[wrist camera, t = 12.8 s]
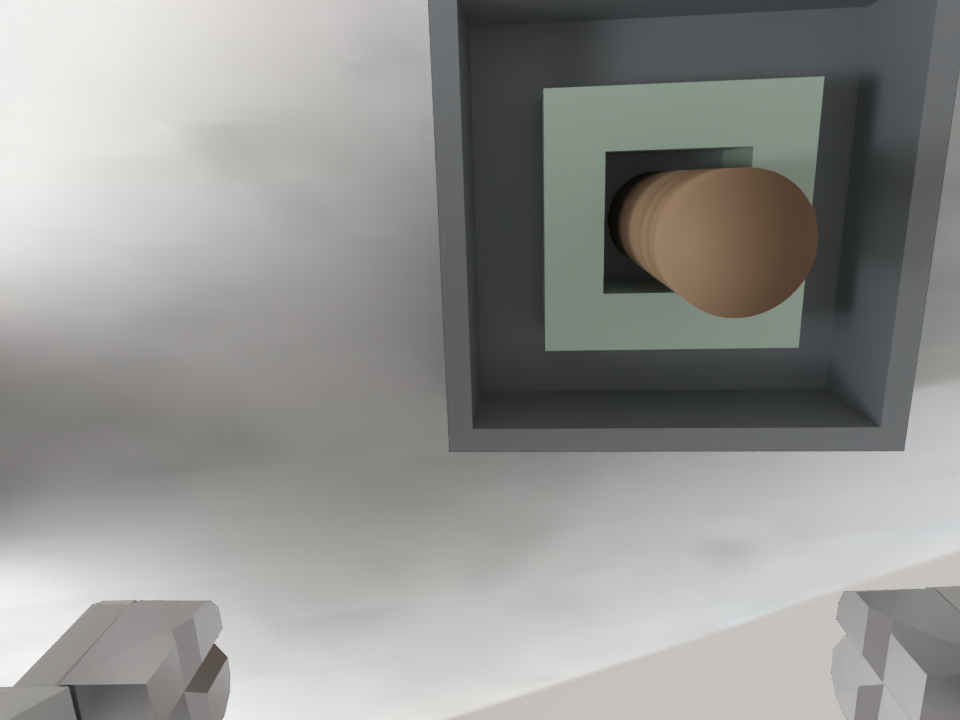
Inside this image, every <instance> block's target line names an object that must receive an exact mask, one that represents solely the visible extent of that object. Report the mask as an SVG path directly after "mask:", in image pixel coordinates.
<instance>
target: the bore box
mask: <svg viewBox="0 0 960 720" xmlns="http://www.w3.org/2000/svg"><path fill="white" fill-rule="evenodd" d="M428 9H429V31H430V52H431V73H432V94H433V115H434V137H435V158H436V179H437V200H438V221H439V243H440V264H441V285H442V306H443V327H444V349H445V370H446V391H447V412H448V433H449V452H645V451H904V448H905V441H906V434H907V427H908V420H909V413H910V406H911V399H912V392H913V385H914V378H915V372H916V365H917V358H918V351H919V344H920V337H921V330H922V323H923V316H924V309H925V302H926V296H927V289H928V282H929V275H930V268H931V261H932V254H933V247H934V240H935V233H936V226H937V220H938V213H939V206H940V199H941V192H942V185H943V178H944V171H945V164H946V157H947V150H948V144H949V137H950V130H951V123H952V116H953V109H954V102H955V95H956V88H957V81H958V75H959V68H960V0H428ZM741 167H754V168H762V169H767V170H770V171H773V172H776V173H778V174H780V175H782V176H785V177H786V178H788V179H789V180H791V181H792V182H793V183H794V184H796V185H797V186H798V187H799V188H800V189H801V190H802V192H803V193H804V194H805V195H806V197H807V198H808V200H809V202H810V204H811V205H812V208H813V211H814V213H815V216H816V221H817V226H818V245H817V251H816V255H815V259H814V262H813V264H812V267H811V269H810V271H809V273H808V275H807V276H806V278H805V280H804V281H803V283H802V284H801V285H800V286H799V288H798V289H797V290H796V291H795V292H794V293H793V294H792V295H791V296H790V297H789V298H788V299H786V300H785V301H784V302H783V303H781V304H779V305H778V306H776V307H775V308H773V309H771V310H769V311H766V312H764V313H761V314H758V315H755V316H751V317H746V318H724V317H718V316H714V315H711V314H708V313H706V312H704V311H701V310H699V309H698V308H696V307H695V306H693V305H692V304H690V303H689V302H688V301H686V300H685V299H683V298H682V297H681V296H679V295H678V294H677V293H675V292H674V291H673V290H671V289H670V288H668V287H667V286H666V285H664V284H663V283H662V282H660V281H659V280H658V279H656V278H655V277H653V276H652V275H651V274H649V273H648V272H647V271H645V270H644V269H643V268H641V267H640V266H639V265H637V264H636V263H634V262H633V261H632V260H630V259H629V258H628V257H626V256H625V255H624V254H623V253H621V252H620V251H619V249H618V248H617V247H616V246H615V244H614V243H613V241H612V238H611V236H610V233H609V228H608V213H609V208H610V205H611V202H612V200H613V198H614V196H615V195H616V193H617V192H618V190H619V189H620V188H621V187H622V186H623V185H624V184H625V183H626V182H627V181H629V180H630V179H632V178H634V177H635V176H637V175H640V174H643V173H647V172H653V171H673V170H696V169H718V168H741Z"/></svg>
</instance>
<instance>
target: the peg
mask: <svg viewBox="0 0 960 720" xmlns="http://www.w3.org/2000/svg"><path fill="white" fill-rule="evenodd" d="M608 228H609V233H610V236H611V238H612V241H613V243H614V244H615V246H616V247H617V248H618V249H619V251H620V252H621V253H623V254H624V255H625V256H626V257H628V258H629V259H630V260H632V261H633V262H634V263H636V264H637V265H639V266H640V267H641V268H643V269H644V270H645V271H647V272H648V273H649V274H651V275H652V276H653V277H655V278H656V279H658V280H659V281H660V282H662V283H663V284H664V285H666V286H667V287H668V288H670V289H671V290H673V291H674V292H675V293H677V294H678V295H679V296H681V297H682V298H683V299H685V300H686V301H688V302H689V303H690V304H692V305H693V306H695V307H696V308H698V309H699V310H701V311H704V312H706V313H708V314H711V315H714V316H718V317H724V318H746V317H751V316H755V315H758V314H761V313H764V312H766V311H769V310H771V309H773V308H775V307H776V306H778V305H779V304H781V303H783V302H784V301H785V300H786V299H788V298H789V297H790V296H791V295H792V294H793V293H794V292H795V291H796V290H797V289H798V288H799V286H800V285H801V284H802V283H803V281H804V280H805V278H806V276H807V275H808V273H809V271H810V269H811V267H812V264H813V262H814V259H815V255H816V251H817V245H818V226H817V221H816V216H815V213H814V211H813V208H812V205H811V204H810V202H809V200H808V198H807V197H806V195H805V194H804V193H803V192H802V190H801V189H800V188H799V187H798V186H797V185H796V184H794V183H793V182H792V181H791V180H789V179H788V178H786V177H785V176H782V175H780V174H778V173H776V172H773V171H770V170H767V169H762V168H754V167H741V168H718V169H696V170H673V171H653V172H647V173H643V174H640V175H637V176H635V177H634V178H632V179H630V180H629V181H627V182H626V183H625V184H624V185H623V186H622V187H621V188H620V189H619V190H618V192H617V193H616V195H615V196H614V198H613V200H612V202H611V205H610V208H609V213H608Z"/></svg>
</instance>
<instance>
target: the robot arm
mask: <svg viewBox="0 0 960 720" xmlns="http://www.w3.org/2000/svg"><path fill="white" fill-rule="evenodd" d="M836 620H837V621H838V622H839V624H840V625H841V627H842V628H843V629H844V631H845V632H846V633H847V635H846V636H845V637H844V638H843V639H842V640H841V641H840V642H839V643H838V645H836V647H835V648H834V649H833V655H832V669H831V674H832V680H833V685H834V691H835V696H836V699H837V701H838V703H839V706H840V708H841V711H842V713H843V715H844V717H845V718H846V720H960V586H951V587H931V588H925V589H902V590H901V589H899V590H867V591H844V592H843V594H842V596H841V598H840V601H839V603H838V610H837V618H836ZM222 629H223V627H222V623H221V618H220V613H219V608H218V606H216V605H215V604H214V603H213V602H212V601H165V600H140V601H135V600H123V601H102V602H99V603H95V604H92V605H91V607H90V608H89V609H88V610H87V611H86V612H85V613H84V614H83V615H82V616H81V617H80V618H79V619H78V620H77V621H76V622H75V623H74V624H73V625H72V626H71V627H70V628H69V629H68V630H67V631H66V632H65V633H64V634H63V635H62V636H61V637H60V639H59V640H58V641H57V642H56V643H55V644H54V645H53V646H52V647H51V648H50V649H49V650H48V651H47V652H46V653H45V654H44V655H43V656H42V657H41V658H40V659H39V660H38V661H37V662H36V663H35V664H34V665H33V666H32V667H31V668H30V670H29V671H28V672H27V673H26V674H25V675H24V676H23V677H22V678H21V679H20V680H19V681H18V682H17V683H16V684H15V685H14V686H13V687H0V720H222V719H223V717H224V714H225V710H226V706H227V701H228V697H229V693H230V670H229V663H228V657H227V656H226V655H225V654H224V653H223V652H222V651H221V650H220V649H219V648H218V647H217V646H216V645H215V644H214V642H215V641H216V639H217V637H218V636H219V634H220V632H221V631H222Z"/></svg>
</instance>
